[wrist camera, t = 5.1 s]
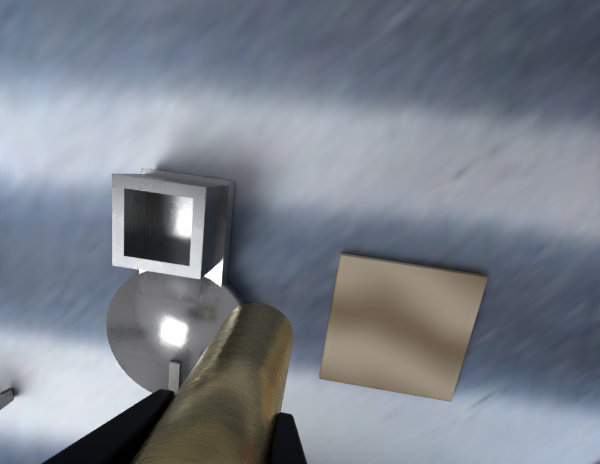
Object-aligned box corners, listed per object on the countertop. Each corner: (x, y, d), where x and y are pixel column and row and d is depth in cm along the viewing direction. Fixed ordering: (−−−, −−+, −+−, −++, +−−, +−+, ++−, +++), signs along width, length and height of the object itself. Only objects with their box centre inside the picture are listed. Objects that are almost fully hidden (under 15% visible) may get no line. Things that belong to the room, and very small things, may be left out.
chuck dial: (246, 400, 23) (230, 449, 19) (118, 377, 23) (74, 420, 19) (270, 186, 19) (256, 189, 15) (117, 164, 20) (64, 161, 16)
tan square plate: (447, 395, 22) (451, 401, 21) (319, 373, 22) (319, 378, 22) (482, 274, 20) (487, 277, 19) (340, 252, 20) (341, 255, 19)
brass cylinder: (287, 373, 12) (138, 1239, 2) (219, 360, 12) (-205, 1127, 2) (298, 310, 11) (159, 1124, 2) (226, 296, 12) (-310, 980, 2)
